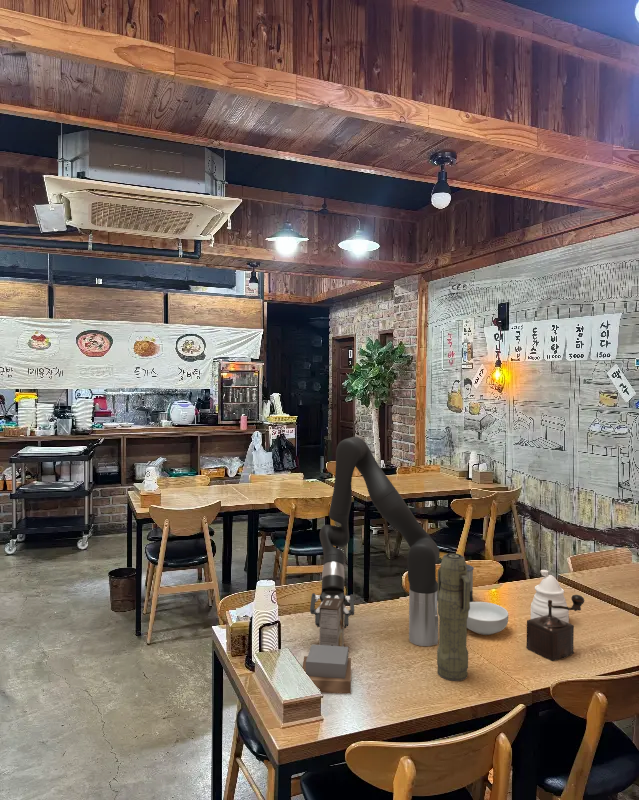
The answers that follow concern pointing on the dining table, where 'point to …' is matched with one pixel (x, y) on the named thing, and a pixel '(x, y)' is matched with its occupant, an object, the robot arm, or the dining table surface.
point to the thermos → (453, 617)
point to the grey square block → (327, 661)
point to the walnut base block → (332, 681)
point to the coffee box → (332, 622)
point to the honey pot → (549, 598)
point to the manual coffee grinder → (552, 633)
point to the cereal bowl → (486, 618)
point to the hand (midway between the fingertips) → (331, 626)
